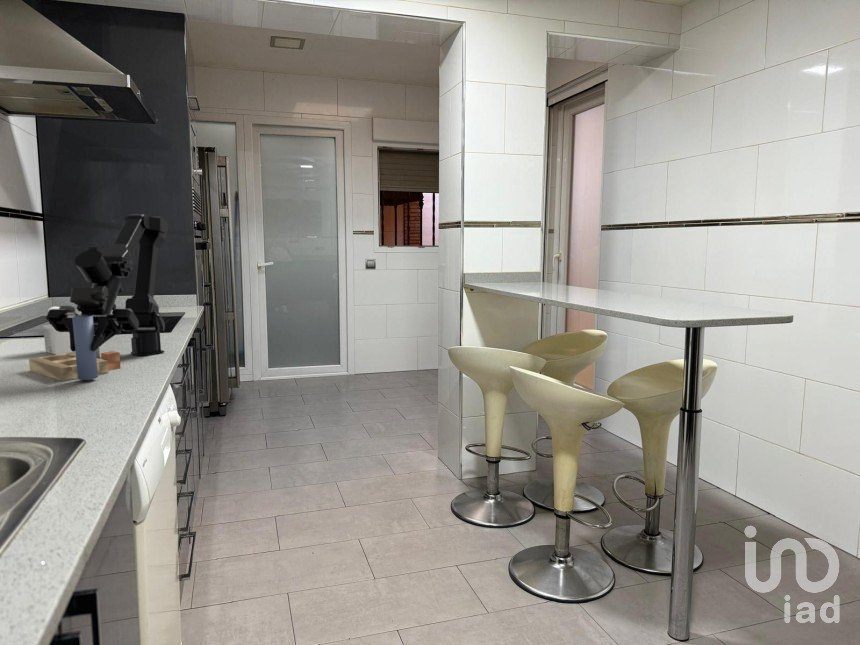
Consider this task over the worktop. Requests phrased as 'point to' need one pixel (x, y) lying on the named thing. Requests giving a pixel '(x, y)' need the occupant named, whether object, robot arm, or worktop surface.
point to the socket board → (72, 364)
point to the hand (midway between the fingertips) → (82, 350)
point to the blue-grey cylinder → (84, 347)
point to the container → (57, 336)
